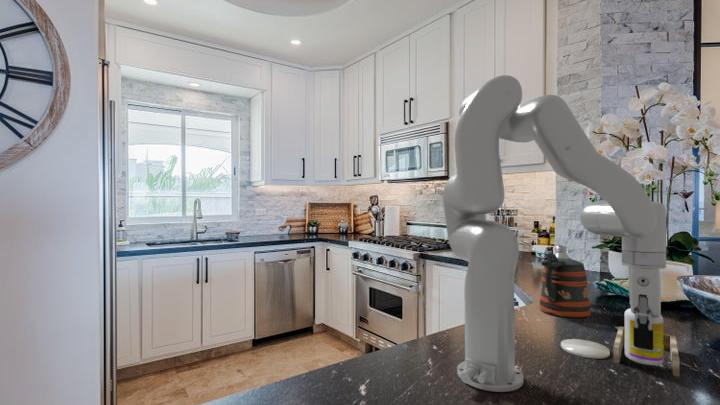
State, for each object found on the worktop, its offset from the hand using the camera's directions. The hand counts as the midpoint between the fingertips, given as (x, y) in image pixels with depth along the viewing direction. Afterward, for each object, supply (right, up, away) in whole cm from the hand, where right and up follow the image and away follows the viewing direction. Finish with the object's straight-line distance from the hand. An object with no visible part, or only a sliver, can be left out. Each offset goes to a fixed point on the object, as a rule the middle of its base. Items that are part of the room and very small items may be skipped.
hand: (643, 342), depth 78 cm
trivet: (-7, -5, +10) cm, 13 cm away
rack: (+5, -5, +6) cm, 9 cm away
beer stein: (+4, -6, +39) cm, 40 cm away
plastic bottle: (+12, -6, +54) cm, 55 cm away
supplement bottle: (0, -4, 0) cm, 4 cm away
